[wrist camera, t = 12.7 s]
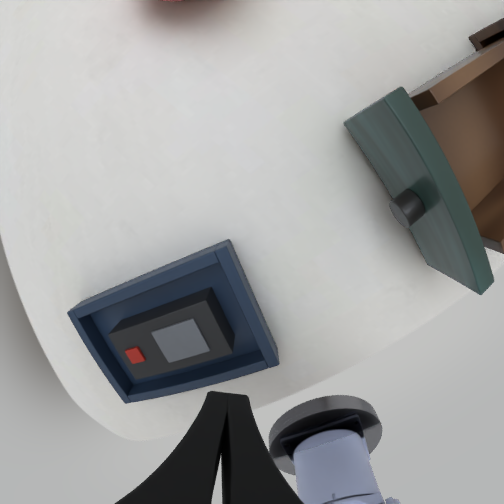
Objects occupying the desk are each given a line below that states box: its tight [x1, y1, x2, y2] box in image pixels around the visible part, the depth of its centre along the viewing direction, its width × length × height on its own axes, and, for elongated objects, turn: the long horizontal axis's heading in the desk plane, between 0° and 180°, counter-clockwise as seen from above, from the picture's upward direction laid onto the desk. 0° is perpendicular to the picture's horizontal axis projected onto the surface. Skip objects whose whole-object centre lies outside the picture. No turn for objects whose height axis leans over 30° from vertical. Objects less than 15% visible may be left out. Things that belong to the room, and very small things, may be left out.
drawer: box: [344, 37, 504, 295], centre depth 12 cm, size 20×10×6 cm, turn 127°
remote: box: [108, 287, 235, 380], centre depth 17 cm, size 4×7×2 cm, turn 112°
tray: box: [67, 239, 279, 403], centre depth 18 cm, size 12×8×2 cm, turn 112°
